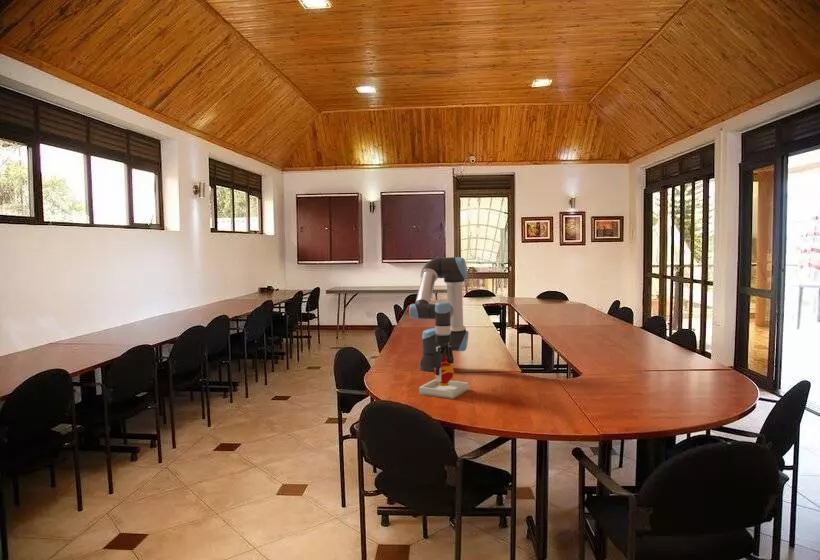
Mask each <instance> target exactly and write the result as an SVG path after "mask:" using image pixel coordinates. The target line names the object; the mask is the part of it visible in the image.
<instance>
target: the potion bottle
mask: <svg viewBox="0 0 820 560" xmlns="http://www.w3.org/2000/svg"><path fill="white" fill-rule="evenodd" d="M447 358H448V357H447V354H444V355H443V358H442V362H441V367H440V368H441V382H439V385H440V386H448V385H449V384H448V382H449V381H450V380H451V381H452V378H453V377H454V375H455V370H454V365H452V363H451V364H449V363H448V362H447V361H446V359H447ZM433 377H434V378H435V379H436V368H434V371H433Z"/></svg>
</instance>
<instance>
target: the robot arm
mask: <svg viewBox="0 0 820 560" xmlns="http://www.w3.org/2000/svg"><path fill="white" fill-rule="evenodd" d="M420 278H421V279H420V283H419V288H418V291H417V294H416V299H415V303H411V304H410V305H409V308H408V313H409V318H410V319H412V320H413V319H414V320H434V321H435V325H434V326H435V327H432V328H427V329H425V330H423V331H422V337H421V345H422V346H421V347H422V357H421V360H420V363H419V370H421V371H425V372H434V368H436V378H435V379H436V381H437V382H441V368H440V367H441V362H442V358H443V355H444V354H447V357H448V358H447V359H446V362H448V363H449V364H451V365H452V364H454V362H455V361H454V353H453V352H465V351H466V350H467V347H468V342H469V341H468V340H469V333H470V332H469V330H467V327H466V326H465V325H464V314H463V313H464V310H463V309H464V308H463V307H464V305H463V303H464V302H463V284H464V282H465V280H466V279H467V278H468V268H467V263H466V260H465V258H464V257H458V256H454V257H435V258H432V259H431V260H429V261H428V262H426V263H425V265H424V266H423V268H422V269H421V273H420ZM438 279H443V282H444V283H445V285H446V297H447V298H446V299H447V301H437V302H436V303H435V304H434V303H431V301H432V297H433V292H434V286H435V284H436V282H437V280H438Z"/></svg>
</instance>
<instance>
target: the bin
mask: <svg viewBox="0 0 820 560" xmlns="http://www.w3.org/2000/svg"><path fill="white" fill-rule="evenodd" d="M448 384H449V385H448V386H440V385H439V382H437V381H436V378H435V379H433V380H430V381H428V382H426V383H425V384H422V385H420V386H419V387H418V395H421V396H429V397H434V398H435V397H437V398H441V397H442V398H443V399H448V400H449V399H450V400H455V398H457V397H459V396H460V395H462V394H464V393H465V392H467V391H469V382H464V381H459V380H452V379H451V380H450V381H449V382H448Z"/></svg>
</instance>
